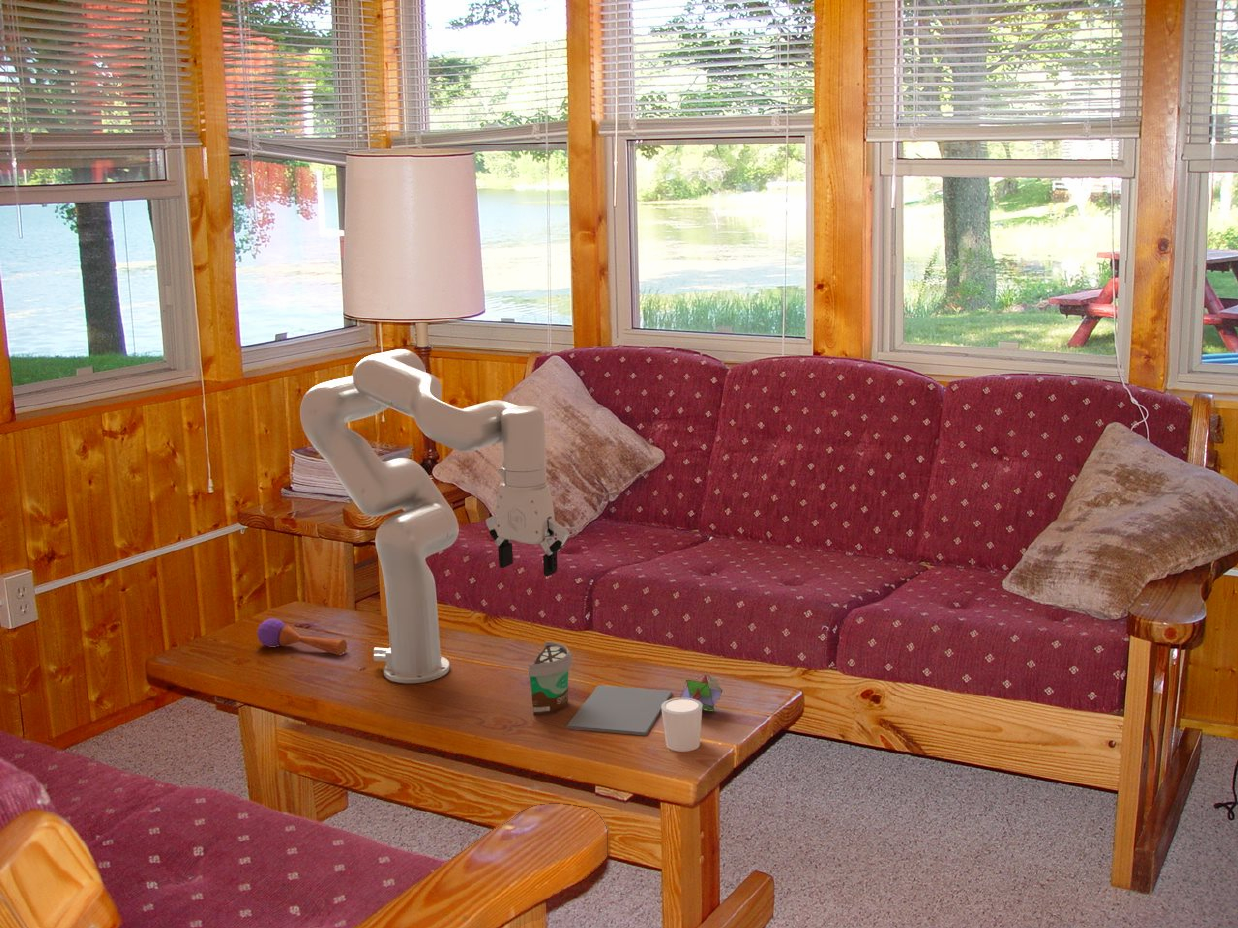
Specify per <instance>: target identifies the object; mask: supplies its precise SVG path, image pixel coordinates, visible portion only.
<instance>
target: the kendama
mask: <svg viewBox="0 0 1238 928" xmlns="http://www.w3.org/2000/svg"><path fill="white" fill-rule="evenodd" d="M257 628H258V629H257V637H258V641H259V642H260V643H261V644H262V645H263V646H265V645H266V646H277V645H280V646H282V647H285V646H289V645H292V644H296V643H299V642H300V643H302V644H305V645H308V646H311V647H313V648H315V649H316V648H317V649H319V650H321V651H325V652H327V653H330V654H332V655H335V654H336V655H335V656H338V655H340V654H342V653H343V652H345V653H346V651H347V645H348V643H347V641H346V640H345V639H337V638H324V637H313V636H311V637H310V636H302V635H300V634H299V633H298V632H297V631H295V630H294V629H293V628H292V627H291V626H290V625H286V624H285V622H283V621H282V620H281V619H279V618H272V617H271V618H268V619H267V618H266V619H265V620H263V622H261V624H260V625H259V626H258V627H257ZM266 646H265V647H266Z"/></svg>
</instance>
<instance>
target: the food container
mask: <svg viewBox="0 0 1238 928" xmlns="http://www.w3.org/2000/svg"><path fill="white" fill-rule="evenodd" d="M572 664H573V659H572V655H571V652H570V651H569V649H568V647H567V646H565V645H564V644H562V643H558V642H555V641H547V640H546V641H544V648H543V650H542V651H541V652H540V653H539V654H538V655H537V657H536V659H535V661H534V663H533V664H532V663H529V664H528V677H529V682H530V693H531V705H532V713H533V717H540V716H541V717H542V716H549V715H554V714H558V713H560V712H562V711H564V710H565V709H566V708H567V707H568V705H569V704H568V702H569V700H568V699H569V668H570V667H571V665H572Z"/></svg>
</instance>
